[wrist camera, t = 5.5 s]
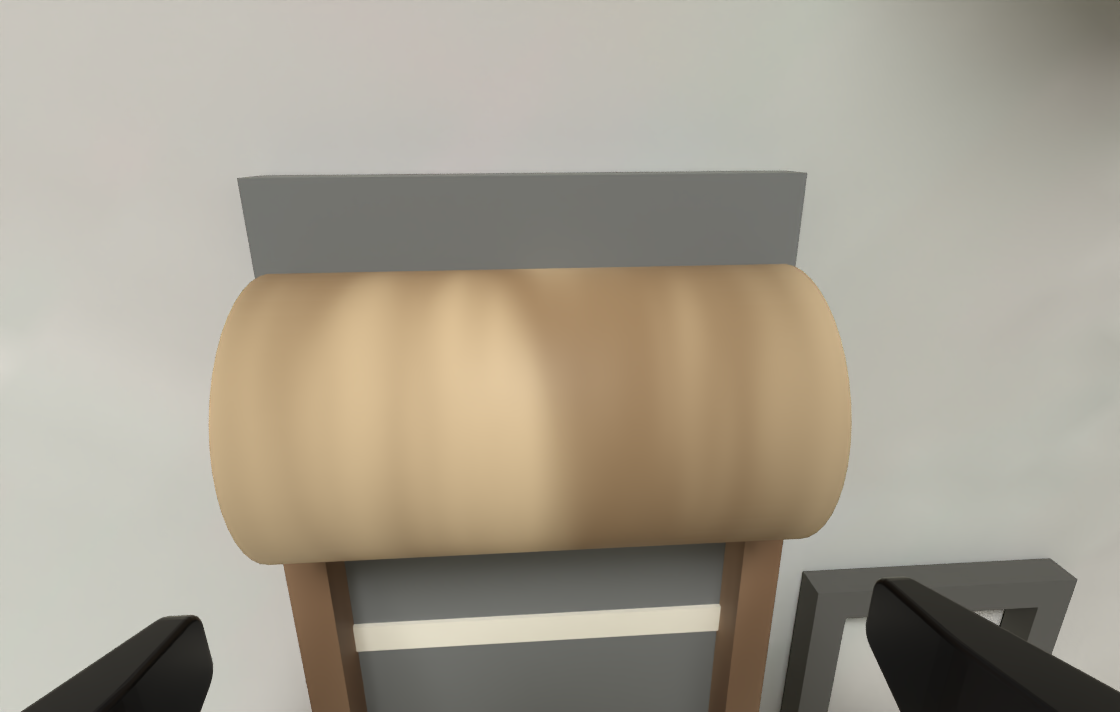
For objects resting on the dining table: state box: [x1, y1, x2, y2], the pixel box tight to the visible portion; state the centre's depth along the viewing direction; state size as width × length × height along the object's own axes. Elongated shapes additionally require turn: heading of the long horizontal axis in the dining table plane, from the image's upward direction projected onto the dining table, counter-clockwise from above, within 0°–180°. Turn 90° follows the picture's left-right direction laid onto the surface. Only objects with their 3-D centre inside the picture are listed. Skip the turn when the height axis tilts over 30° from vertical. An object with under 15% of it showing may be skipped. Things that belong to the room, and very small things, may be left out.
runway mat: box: [237, 171, 807, 712], centre depth 13 cm, size 10×14×1 cm
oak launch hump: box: [209, 264, 851, 565], centre depth 11 cm, size 9×5×5 cm, turn 90°
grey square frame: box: [781, 558, 1077, 712], centre depth 16 cm, size 7×7×1 cm
